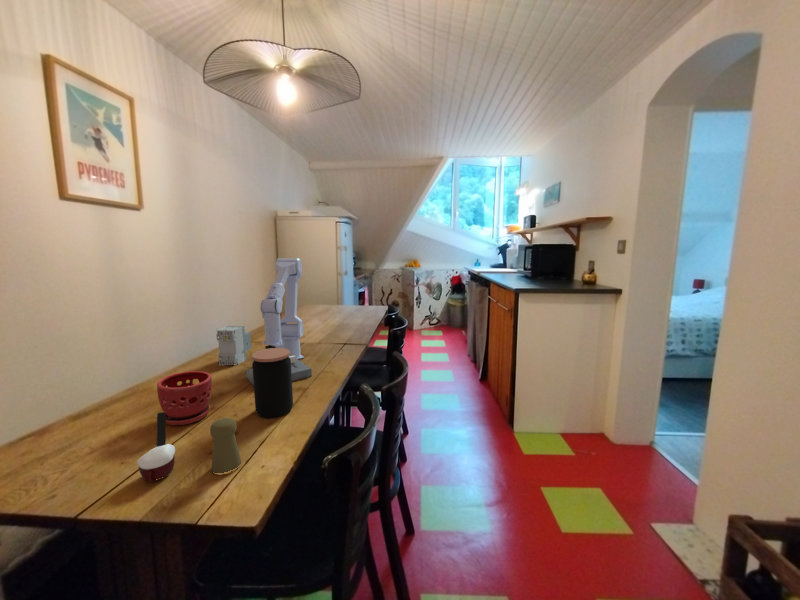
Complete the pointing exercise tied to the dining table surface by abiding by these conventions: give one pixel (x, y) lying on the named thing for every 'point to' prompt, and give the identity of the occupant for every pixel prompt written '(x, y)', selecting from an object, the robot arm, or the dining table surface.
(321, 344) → the dining table surface
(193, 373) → the plant pot
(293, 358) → the paddle
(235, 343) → the circuit breaker
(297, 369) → the grey slider panel
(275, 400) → the coffee jar
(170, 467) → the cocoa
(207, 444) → the dining table surface
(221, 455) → the cork
